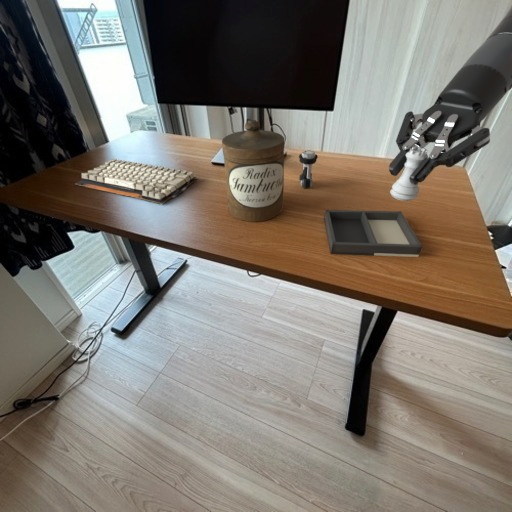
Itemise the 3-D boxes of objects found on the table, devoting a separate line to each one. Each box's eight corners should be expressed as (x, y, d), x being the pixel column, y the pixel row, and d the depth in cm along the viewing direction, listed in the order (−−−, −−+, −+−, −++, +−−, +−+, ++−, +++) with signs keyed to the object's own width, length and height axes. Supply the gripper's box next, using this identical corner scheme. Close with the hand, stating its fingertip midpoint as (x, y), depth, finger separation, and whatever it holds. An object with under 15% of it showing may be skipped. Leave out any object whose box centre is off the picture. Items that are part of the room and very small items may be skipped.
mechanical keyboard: (73, 185, 88) (69, 175, 86) (118, 164, 102) (115, 155, 100) (165, 206, 76) (162, 195, 74) (202, 180, 89) (200, 170, 87)
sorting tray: (397, 220, 67) (401, 211, 65) (418, 257, 56) (423, 246, 54) (324, 219, 68) (325, 209, 67) (330, 254, 58) (332, 244, 56)
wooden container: (233, 226, 67) (224, 132, 53) (225, 198, 78) (215, 115, 64) (290, 217, 69) (295, 125, 55) (274, 192, 80) (275, 110, 66)
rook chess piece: (420, 194, 48) (438, 148, 42) (411, 204, 45) (429, 157, 40) (395, 187, 50) (409, 143, 45) (384, 196, 48) (398, 150, 42)
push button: (292, 181, 86) (294, 149, 79) (308, 178, 87) (311, 147, 80) (301, 190, 81) (303, 157, 74) (317, 187, 82) (321, 154, 76)
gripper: (433, 59, 43) (361, 152, 46) (540, 65, 33) (438, 182, 37) (441, 93, 48) (375, 174, 52) (534, 107, 39) (446, 205, 42)
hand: (402, 177), depth 44 cm, fingers closed on rook chess piece, 3 cm apart
